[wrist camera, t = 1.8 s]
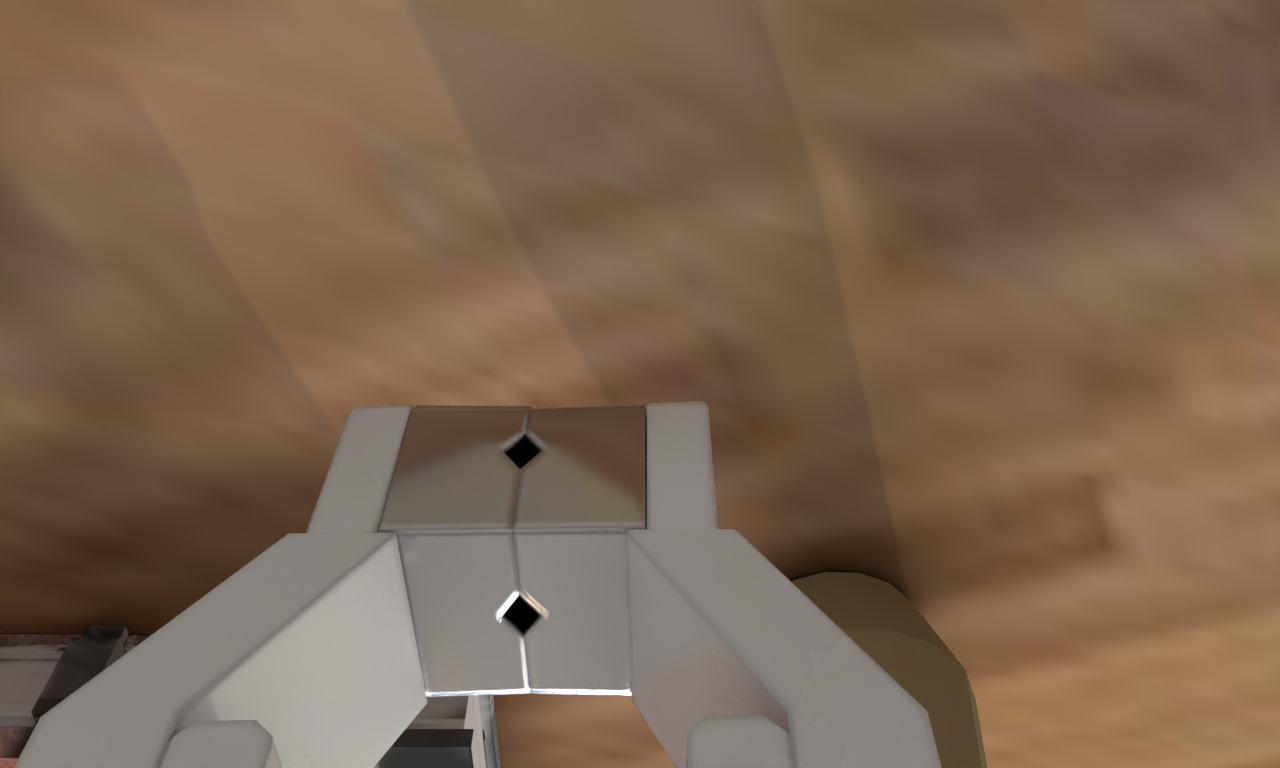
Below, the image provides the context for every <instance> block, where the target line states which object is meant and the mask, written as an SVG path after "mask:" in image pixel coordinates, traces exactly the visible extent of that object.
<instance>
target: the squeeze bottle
mask: <svg viewBox="0 0 1280 768" xmlns="http://www.w3.org/2000/svg"><path fill="white" fill-rule="evenodd" d="M791 582H792V583H793V584H794V585H795V586H796V587H797V588H798V589H799V590H800V591H801V592H802V593H804V594H805V595H806V596H807V597H808V598H809V599H810V600H811V601H812V602H813V603H814V604H815V605H816V606H817V607H818V608H819V609H820V610H821V611H822V612H823V613H825V614H826V615H827V616H828V617H829V618H830V619H831V620H832V621H833V622H834V623H835V624H836V625H837V626H838V627H839V628H840V629H841V630H842V631H843V632H845V633H846V634H847V635H848V636H849V637H850V638H851V639H852V640H853V641H854V642H855V643H856V644H857V645H858V646H859V647H860V648H861V649H862V650H863V651H864V652H866V653H867V654H868V655H869V656H870V657H871V658H872V659H873V660H874V661H875V662H876V663H877V664H878V665H879V666H880V667H881V668H882V669H883V670H884V671H886V672H887V673H888V674H889V675H890V676H891V677H892V678H893V679H894V680H895V681H896V682H897V683H898V684H899V685H900V686H901V687H902V688H903V689H904V690H905V691H907V692H908V693H909V694H910V695H911V696H912V697H913V698H914V699H915V700H916V701H917V702H918V703H919V704H920V705H921V706H922V707H923V708H924V709H925V710H927V712H928V716H929V720H930V724H931V728H932V732H933V736H934V740H935V744H936V748H937V752H938V756H939V759H940V763H941V767H942V768H987V764H986V758H985V753H984V747H983V741H982V735H981V729H980V723H979V718H978V712H977V706H976V701H975V698H974V695H973V692H972V689H971V686H970V683H969V680H968V677H967V674H966V671H965V669H964V668H963V666H962V665H961V664H960V663H959V661H958V660H957V659H956V658H955V656H954V655H953V654H952V653H951V651H950V650H949V649H948V648H947V646H946V645H945V644H944V643H943V641H942V640H941V639H940V638H939V636H938V635H937V634H936V633H935V631H934V630H933V629H932V627H931V626H930V625H929V624H928V622H927V621H926V620H925V619H924V617H923V616H922V615H921V614H920V612H919V611H918V610H917V609H916V607H915V606H914V605H913V604H912V602H911V601H910V600H909V599H908V598H906V597H905V596H904V595H903V594H902V593H901V592H900V591H898V590H897V589H896V588H895V587H894V586H893V585H891V584H890V583H888V582H885V581H882V580H879V579H876V578H873V577H870V576H867V575H864V574H861V573H844V572H822V573H819V574H815V575H811V576H808V577H804V578H800V579H796V580H793V581H791Z"/></svg>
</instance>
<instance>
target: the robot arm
mask: <svg viewBox="0 0 1280 768" xmlns="http://www.w3.org/2000/svg"><path fill="white" fill-rule="evenodd" d="M646 445H647V458H646ZM524 693H537V694H594V695H632V701H633V703H634V704H635V706H636V707H637V709H638V710H639V712H640V713H641V715H642V716H643V718H644V719H645V721H646V722H647V724H648V725H649V727H650V728H651V730H652V731H653V733H654V734H655V736H656V737H657V739H658V740H659V742H660V743H661V745H662V746H663V748H664V749H665V751H666V752H667V754H668V755H669V757H670V759H671V760H672V762H673V763H674V765H675V766H676V768H942V767H941V763H940V759H939V756H938V752H937V748H936V744H935V740H934V736H933V732H932V728H931V724H930V720H929V716H928V712H927V710H925V709H924V708H923V707H922V706H921V705H920V704H919V703H918V702H917V701H916V700H915V699H914V698H913V697H912V696H911V695H910V694H909V693H908V692H907V691H905V690H904V689H903V688H902V687H901V686H900V685H899V684H898V683H897V682H896V681H895V680H894V679H893V678H892V677H891V676H890V675H889V674H888V673H887V672H886V671H884V670H883V669H882V668H881V667H880V666H879V665H878V664H877V663H876V662H875V661H874V660H873V659H872V658H871V657H870V656H869V655H868V654H867V653H866V652H864V651H863V650H862V649H861V648H860V647H859V646H858V645H857V644H856V643H855V642H854V641H853V640H852V639H851V638H850V637H849V636H848V635H847V634H846V633H845V632H843V631H842V630H841V629H840V628H839V627H838V626H837V625H836V624H835V623H834V622H833V621H832V620H831V619H830V618H829V617H828V616H827V615H826V614H825V613H823V612H822V611H821V610H820V609H819V608H818V607H817V606H816V605H815V604H814V603H813V602H812V601H811V600H810V599H809V598H808V597H807V596H806V595H805V594H804V593H802V592H801V591H800V590H799V589H798V588H797V587H796V586H795V585H794V584H793V583H792V582H791V581H790V580H789V579H788V578H787V577H786V576H785V575H784V574H782V573H781V572H780V571H779V570H778V569H777V568H776V567H775V566H774V565H773V564H772V563H771V562H770V561H769V560H768V559H767V558H766V557H765V556H764V555H762V554H761V553H760V552H759V551H758V550H757V549H756V548H755V547H754V546H753V545H752V544H751V543H750V542H749V541H748V540H747V539H746V538H745V537H744V536H743V535H741V534H740V533H739V532H738V531H737V530H736V529H718V520H717V508H716V496H715V484H714V472H713V460H712V447H711V435H710V423H709V411H708V407H707V405H706V404H705V402H704V401H699V402H674V403H650V404H647V413H646V412H645V406H590V407H535V408H532V407H531V406H434V405H417V406H416V407H413V406H410V405H403V406H357V407H356V408H355V409H354V410H353V411H352V412H351V413H350V414H349V415H348V416H347V419H346V422H345V425H344V428H343V430H342V433H341V436H340V439H339V442H338V445H337V447H336V450H335V453H334V456H333V459H332V461H331V464H330V467H329V470H328V473H327V476H326V478H325V481H324V484H323V487H322V490H321V492H320V495H319V498H318V501H317V504H316V507H315V509H314V512H313V515H312V518H311V521H310V523H309V526H308V529H307V532H306V533H289V534H287V535H286V536H284V537H283V538H282V539H280V540H279V541H278V542H276V543H275V544H274V545H272V546H271V547H270V548H268V549H267V550H266V551H264V552H263V553H261V554H260V555H259V556H257V557H256V558H255V559H253V560H252V561H251V562H249V563H248V564H247V565H245V566H244V567H243V568H241V569H240V570H239V571H237V572H236V573H234V574H233V575H232V576H230V577H229V578H228V579H226V580H225V581H224V582H222V583H221V584H220V585H218V586H217V587H216V588H214V589H213V590H211V591H210V592H209V593H207V594H206V595H205V596H203V597H202V598H201V599H199V600H198V601H197V602H195V603H194V604H193V605H191V606H190V607H189V608H187V609H186V610H184V611H183V612H182V613H180V614H179V615H178V616H176V617H175V618H174V619H172V620H171V621H170V622H168V623H167V624H166V625H164V626H163V627H161V628H160V629H159V630H157V631H156V632H155V633H153V634H152V635H151V636H149V637H148V638H147V639H145V640H144V641H143V642H141V643H140V644H139V645H137V646H136V647H134V648H133V649H132V650H130V651H129V652H128V653H126V654H125V655H124V656H122V657H121V658H120V659H118V660H117V661H116V662H114V663H113V664H111V665H110V666H109V667H107V668H106V669H105V670H103V671H102V672H101V673H99V674H98V675H97V676H95V677H94V678H93V679H91V680H90V681H89V682H87V683H86V684H84V685H83V686H82V687H80V688H79V689H78V690H76V691H75V692H74V693H72V694H71V695H70V696H68V697H67V698H66V699H64V700H63V701H61V702H60V703H59V704H57V705H56V706H55V707H53V708H52V709H51V710H49V711H48V712H47V713H45V714H44V715H43V716H41V717H40V719H39V721H38V723H37V725H36V727H35V729H34V730H33V732H32V734H31V736H30V738H29V740H28V742H27V744H26V745H25V747H24V749H23V751H22V753H21V755H20V757H19V759H18V760H17V762H16V764H15V766H14V768H374V766H375V765H376V764H377V763H378V762H379V760H380V759H381V758H382V757H383V756H384V754H385V753H386V752H387V751H388V750H389V748H390V747H391V746H392V745H393V744H394V742H395V741H396V740H397V739H398V738H399V736H400V735H401V734H402V733H403V732H404V730H405V729H406V728H407V727H408V726H409V724H410V723H411V722H412V721H413V720H414V718H415V717H416V716H417V715H418V714H419V712H420V711H421V710H422V709H423V707H424V706H425V705H426V704H427V698H426V697H440V696H468V695H496V694H524Z"/></svg>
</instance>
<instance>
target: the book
mask: <svg viewBox="0 0 1280 768" xmlns="http://www.w3.org/2000/svg"><path fill="white" fill-rule="evenodd" d="M149 636H151V635H129V633H128V630H127V628H126V625H87V626H86V628H85V630H84V632H83V634H82V635H38V634H0V768H14V766H15V764H16V762H17V760H18V759H19V757H20V755H21V753H22V751H23V749H24V747H25V745H26V744H27V742H28V740H29V738H30V736H31V734H32V732H33V730H34V729H35V727H36V725H37V723H38V721H39V719H40V717H41V716H43V715H44V714H45V713H47V712H48V711H49V710H51V709H52V708H53V707H55V706H56V705H57V704H59V703H60V702H61V701H63V700H64V699H66V698H67V697H68V696H70V695H71V694H72V693H74V692H75V691H76V690H78V689H79V688H80V687H82V686H83V685H84V684H86V683H87V682H89V681H90V680H91V679H93V678H94V677H95V676H97V675H98V674H99V673H101V672H102V671H103V670H105V669H106V668H107V667H109V666H110V665H111V664H113V663H114V662H116V661H117V660H118V659H120V658H121V657H122V656H124V655H125V654H126V653H128V652H129V651H130V650H132V649H133V648H134V647H136V646H137V645H139V644H140V643H141V642H143V641H144V640H145V639H147V638H148V637H149ZM426 698H427V704H426V705H425V706H424V707H423V709H422V710H421V711H420V712H419V714H418V715H417V716H416V717H415V718H414V720H413V721H412V722H411V723H410V724H409V726H408V727H407V728H406V729H405V730H404V732H403V733H402V734H401V735H400V736H399V738H398V739H397V740H396V741H395V742H394V744H393V745H392V746H391V747H390V748H389V750H388V751H387V752H386V753H385V754H384V756H383V757H382V758H381V759H380V760H379V762H378V763H377V764H376V765H375V766H374V768H501V764H500V754H499V744H498V735H497V725H496V715H495V706H494V696H493V695H468V696H440V697H426Z"/></svg>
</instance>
